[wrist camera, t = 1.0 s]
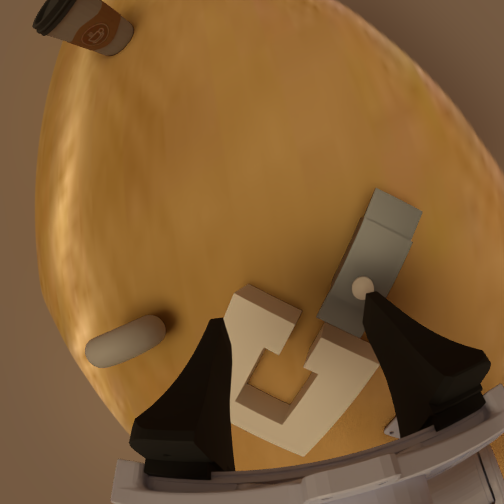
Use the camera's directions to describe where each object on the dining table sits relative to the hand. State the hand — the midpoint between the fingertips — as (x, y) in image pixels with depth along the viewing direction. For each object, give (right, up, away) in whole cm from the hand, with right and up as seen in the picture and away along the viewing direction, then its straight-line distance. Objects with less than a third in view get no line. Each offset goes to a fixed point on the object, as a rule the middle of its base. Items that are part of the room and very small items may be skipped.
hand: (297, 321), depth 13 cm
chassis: (+1, -9, +14) cm, 16 cm away
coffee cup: (-23, +36, +16) cm, 45 cm away
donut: (-14, -6, +19) cm, 24 cm away
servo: (+8, +3, +10) cm, 13 cm away
